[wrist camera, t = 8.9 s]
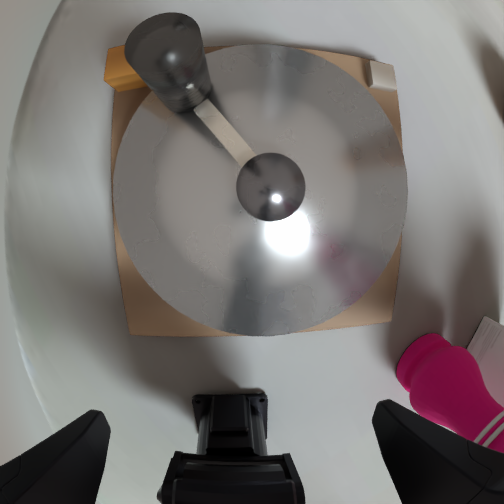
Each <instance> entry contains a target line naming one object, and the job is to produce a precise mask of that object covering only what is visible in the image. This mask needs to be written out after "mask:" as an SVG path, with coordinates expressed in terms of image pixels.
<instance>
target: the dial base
mask: <svg viewBox="0 0 504 504" xmlns="http://www.w3.org/2000/svg"><path fill="white" fill-rule="evenodd" d="M124 47H125V45H122V46H118V47H114V48H110V49H108V54H107V60H106V67H105V74H104V81H105V82H106V83H108V84H109V85H110V86H111V87H113V88H114V89H115V92H114V103H113V117H112V141H111V182H112V206H113V221H114V233H115V244H116V253H117V261H118V269H119V276H120V283H121V289H122V296H123V301H124V307H125V312H126V318H127V323H128V327H129V332H130V335H141V336H176V337H212V336H247V335H239V334H232V333H228V332H224V331H220V330H217V329H213V328H211V327H208V326H206V325H203V324H201V323H198V322H196V321H194V320H193V319H191V318H189V317H187V316H185V315H184V314H182V313H180V312H179V311H177V310H176V309H175V308H173V307H172V306H171V305H169V304H168V303H167V302H165V301H164V300H163V299H162V298H161V297H160V296H159V295H158V294H157V293H156V292H155V291H154V290H153V289H152V288H151V287H150V286H149V285H148V284H147V282H146V281H145V280H144V278H143V277H142V276H141V275H140V273H139V272H138V270H137V269H136V267H135V265H134V264H133V262H132V260H131V258H130V257H129V255H128V253H127V251H126V248H125V246H124V243H123V241H122V238H121V236H120V232H119V229H118V225H117V221H116V217H115V210H114V201H113V176H114V169H115V163H116V157H117V154H118V150H119V147H120V144H121V141H122V138H123V135H124V133H125V131H126V129H127V127H128V125H129V122H130V120H131V118H132V117H133V115H134V114H135V112H136V111H137V109H138V108H139V106H140V105H141V103H142V102H143V101H144V99H145V98H146V97H147V96H148V95H149V94H150V92H151V91H152V90H151V89H150V88H149V87H148V85H147V84H146V83H145V82H144V81H143V80H142V79H141V77H140V76H139V75H138V74H137V73H136V72H135V71H134V69H133V68H132V67H131V66H130V65H129V64H128V62H127V60H126V58H125V55H124ZM228 47H234V46H217V47H204V52H205V54H208V53H211V52H214V51H217V50H220V49H224V48H228ZM295 49H299V50H303V51H306V52H309V53H311V54H314V55H317V56H319V57H322V58H324V59H325V60H327V61H329V62H331V63H333V64H335V65H337V66H338V67H340V68H341V69H343V70H344V71H345V72H347V73H348V74H350V75H351V76H352V77H354V78H355V79H356V80H357V81H358V82H359V83H360V84H361V85H362V86H363V87H365V88H366V89H367V90H368V91H369V93H370V94H371V95H372V96H373V97H374V99H375V100H376V101H377V102H378V103H379V105H380V106H381V108H382V109H383V111H384V112H385V114H386V116H387V117H388V119H389V120H390V122H391V124H392V127H393V129H394V131H395V133H396V135H397V137H398V140H399V143H400V146H401V150H402V134H401V122H400V112H399V103H398V95H397V85H396V79H395V73H394V67H393V65H389V64H386V63H382V62H378V61H373V60H369V59H365V58H360V57H355V56H350V55H344V54H339V53H332V52H326V51H318V50H310V49H301V48H295ZM402 153H403V150H402ZM401 239H402V232H401V235H400V238H399V241H398V244H397V246H396V249H395V251H394V253H393V255H392V257H391V259H390V261H389V263H388V264H387V266H386V267H385V269H384V271H383V272H382V274H381V275H380V277H379V278H378V279H377V280H376V281H375V283H374V284H373V285H372V286H371V287H370V289H369V290H368V291H367V292H366V293H365V294H364V295H363V296H362V297H360V298H359V299H358V300H357V301H356V302H355V303H354V304H352V305H351V306H350V307H348V308H347V309H346V310H344V311H343V312H341V313H340V314H338V315H336V316H335V317H333V318H331V319H329V320H327V321H325V322H323V323H321V324H319V325H316V326H313V327H311V328H308V329H305V330H302V331H298V332H309V331H320V330H329V329H339V328H347V327H355V326H363V325H370V324H377V323H384V322H390V321H391V319H392V313H393V307H394V301H395V294H396V287H397V280H398V271H399V262H400V251H401ZM294 333H297V332H294Z"/></svg>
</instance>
